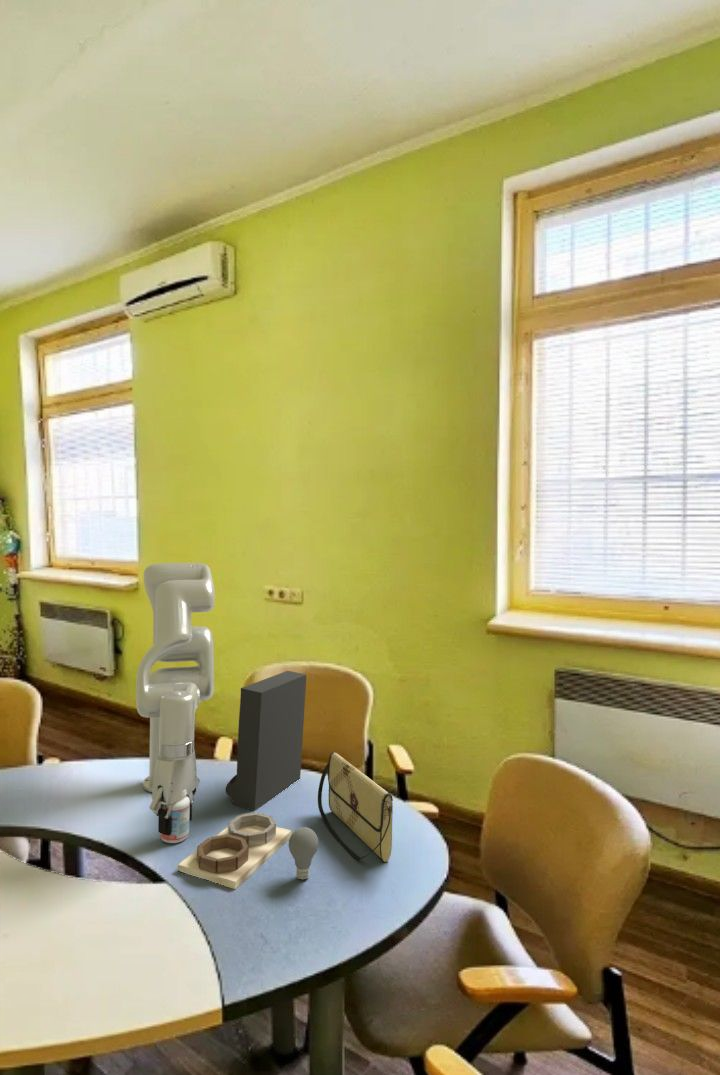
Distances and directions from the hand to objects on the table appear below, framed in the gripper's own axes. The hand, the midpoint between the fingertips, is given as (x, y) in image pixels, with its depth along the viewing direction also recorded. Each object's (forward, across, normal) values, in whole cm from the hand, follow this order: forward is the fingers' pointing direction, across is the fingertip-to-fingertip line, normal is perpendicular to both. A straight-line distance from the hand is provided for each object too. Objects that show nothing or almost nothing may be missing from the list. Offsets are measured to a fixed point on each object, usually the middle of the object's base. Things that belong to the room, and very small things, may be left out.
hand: (175, 825), depth 137 cm
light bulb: (+3, +1, +33) cm, 33 cm away
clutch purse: (+3, -17, +36) cm, 40 cm away
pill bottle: (+3, 0, 0) cm, 3 cm away
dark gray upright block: (+3, -30, +5) cm, 30 cm away
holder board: (+3, -1, +16) cm, 17 cm away
